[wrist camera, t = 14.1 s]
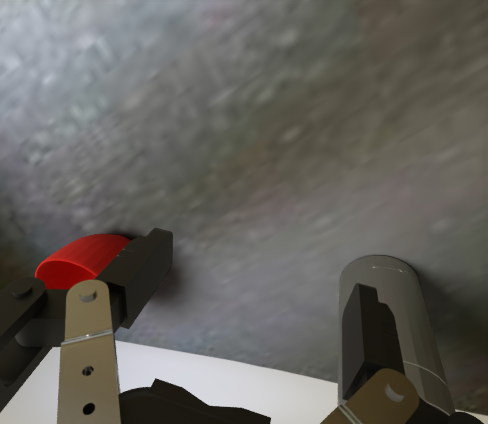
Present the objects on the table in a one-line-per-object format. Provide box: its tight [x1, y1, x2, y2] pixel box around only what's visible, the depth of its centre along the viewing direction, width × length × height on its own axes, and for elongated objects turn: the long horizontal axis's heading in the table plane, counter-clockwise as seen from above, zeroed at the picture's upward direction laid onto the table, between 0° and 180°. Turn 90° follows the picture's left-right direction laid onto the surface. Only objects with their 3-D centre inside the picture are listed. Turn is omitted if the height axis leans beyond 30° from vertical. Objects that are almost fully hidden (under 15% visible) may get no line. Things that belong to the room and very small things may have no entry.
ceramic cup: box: [35, 234, 131, 289], centre depth 47 cm, size 13×17×10 cm
